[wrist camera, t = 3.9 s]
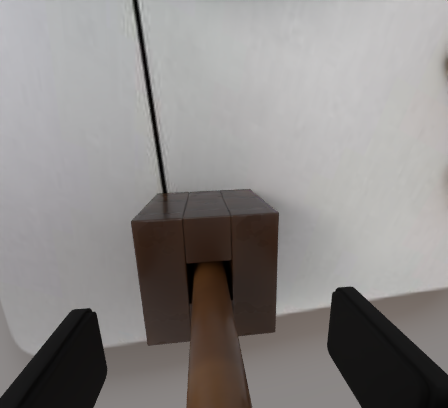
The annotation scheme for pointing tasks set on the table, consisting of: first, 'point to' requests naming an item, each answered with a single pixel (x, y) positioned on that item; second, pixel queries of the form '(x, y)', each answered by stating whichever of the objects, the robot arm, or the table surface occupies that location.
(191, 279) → the holder
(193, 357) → the stick
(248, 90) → the table surface
